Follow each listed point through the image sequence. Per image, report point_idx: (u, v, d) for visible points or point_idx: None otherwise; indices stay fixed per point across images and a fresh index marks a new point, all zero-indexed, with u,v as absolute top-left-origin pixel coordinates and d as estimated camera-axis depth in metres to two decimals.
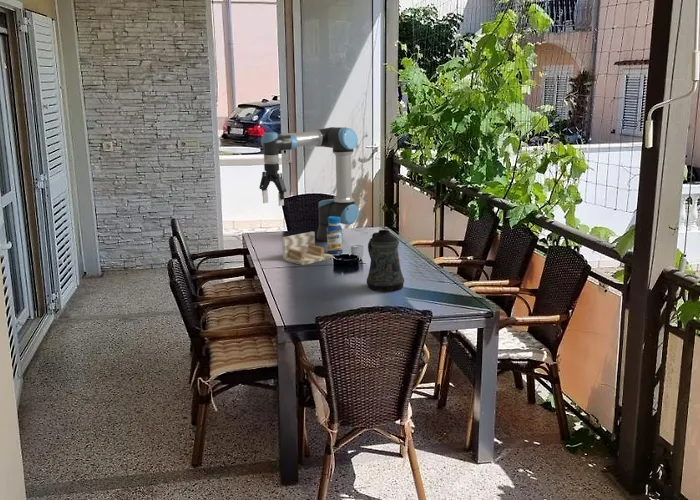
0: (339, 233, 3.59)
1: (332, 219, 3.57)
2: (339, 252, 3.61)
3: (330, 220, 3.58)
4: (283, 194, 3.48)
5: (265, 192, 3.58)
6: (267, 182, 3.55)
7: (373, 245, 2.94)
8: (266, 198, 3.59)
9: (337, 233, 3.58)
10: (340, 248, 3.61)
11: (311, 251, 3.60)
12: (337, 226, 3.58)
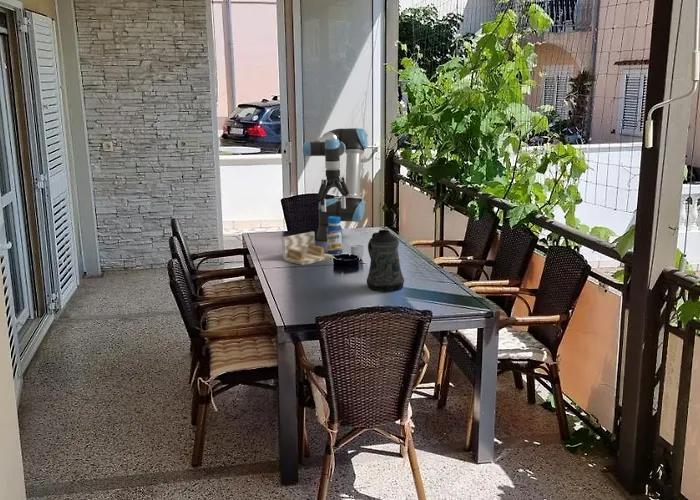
0: (339, 233, 3.59)
1: (332, 219, 3.57)
2: (339, 252, 3.61)
3: (330, 220, 3.58)
4: (321, 200, 3.52)
5: (342, 197, 3.62)
6: (337, 188, 3.59)
7: (373, 245, 2.94)
8: (343, 204, 3.62)
9: (337, 233, 3.58)
10: (340, 248, 3.61)
11: (311, 251, 3.60)
12: (337, 226, 3.58)
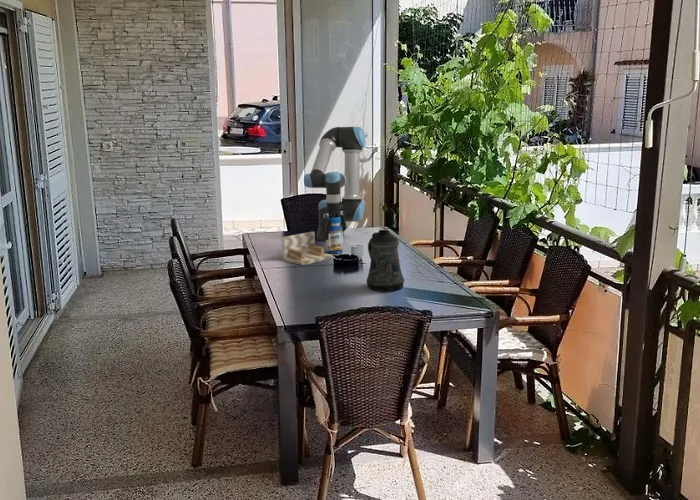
0: (339, 233, 3.59)
1: (332, 219, 3.57)
2: (339, 252, 3.61)
3: None
4: (326, 235, 3.58)
5: None
6: None
7: (373, 245, 2.94)
8: None
9: (337, 233, 3.58)
10: (340, 248, 3.61)
11: (311, 251, 3.60)
12: (337, 226, 3.58)
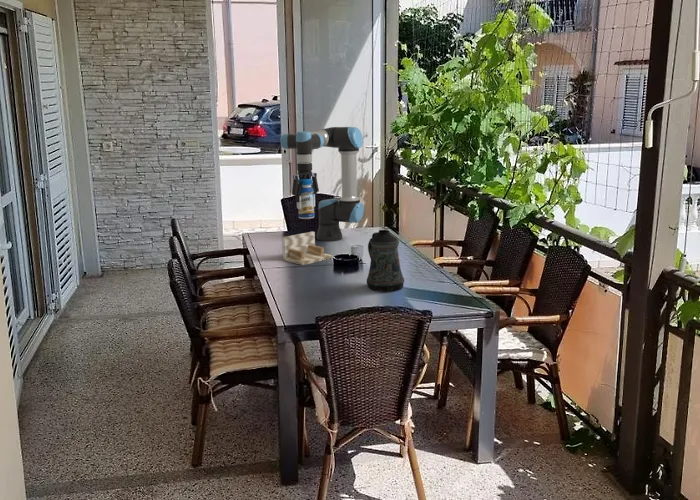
0: (310, 195, 3.44)
1: (303, 180, 3.42)
2: (310, 215, 3.46)
3: (301, 181, 3.43)
4: (297, 197, 3.43)
5: None
6: None
7: (373, 245, 2.94)
8: None
9: (308, 195, 3.44)
10: (311, 211, 3.46)
11: (311, 251, 3.60)
12: (309, 188, 3.44)
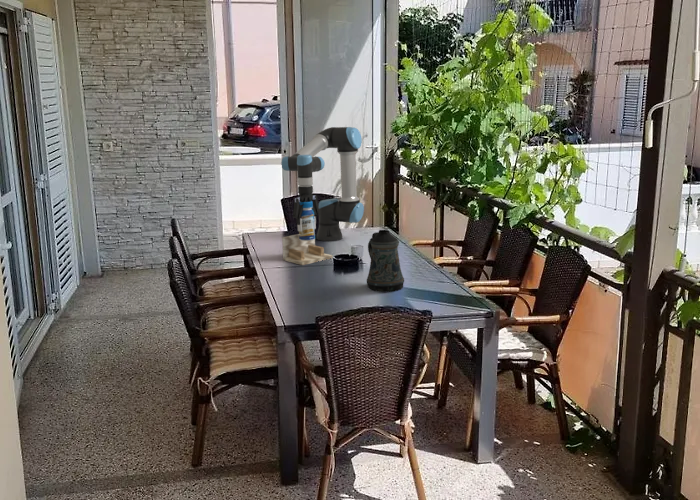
0: (311, 218, 3.47)
1: (304, 203, 3.45)
2: (311, 238, 3.49)
3: (301, 204, 3.45)
4: (297, 220, 3.45)
5: None
6: None
7: (373, 245, 2.94)
8: None
9: (309, 218, 3.46)
10: (312, 233, 3.49)
11: (311, 251, 3.60)
12: (309, 211, 3.46)
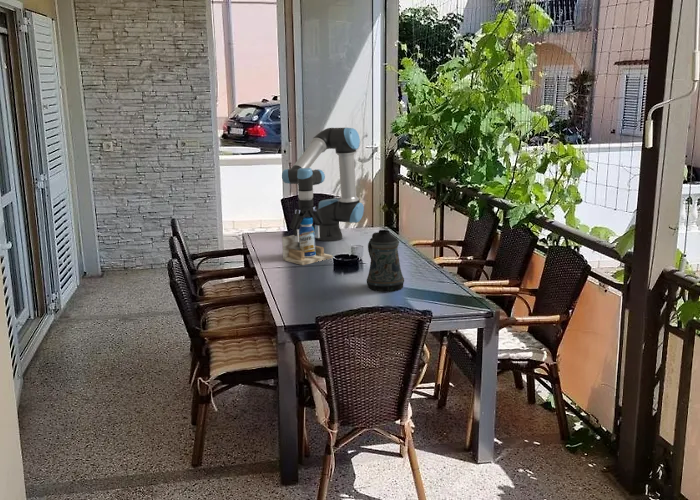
0: (311, 234, 3.49)
1: (304, 220, 3.47)
2: (312, 254, 3.51)
3: (302, 221, 3.48)
4: (294, 231, 3.45)
5: (316, 227, 3.55)
6: None
7: (373, 245, 2.94)
8: (317, 233, 3.56)
9: (309, 234, 3.48)
10: (313, 250, 3.51)
11: None
12: (309, 227, 3.48)
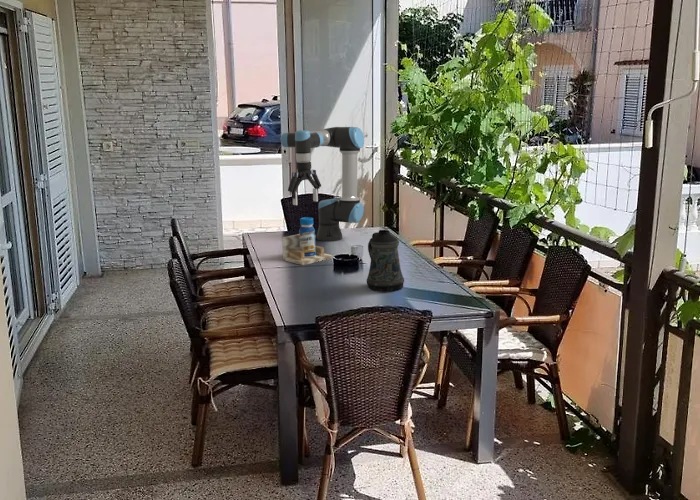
0: (312, 235, 3.49)
1: (304, 220, 3.47)
2: (312, 254, 3.51)
3: (302, 221, 3.48)
4: (292, 194, 3.43)
5: (314, 190, 3.54)
6: (309, 180, 3.51)
7: (373, 245, 2.94)
8: (315, 196, 3.54)
9: (309, 235, 3.48)
10: (313, 250, 3.51)
11: None
12: (310, 228, 3.48)
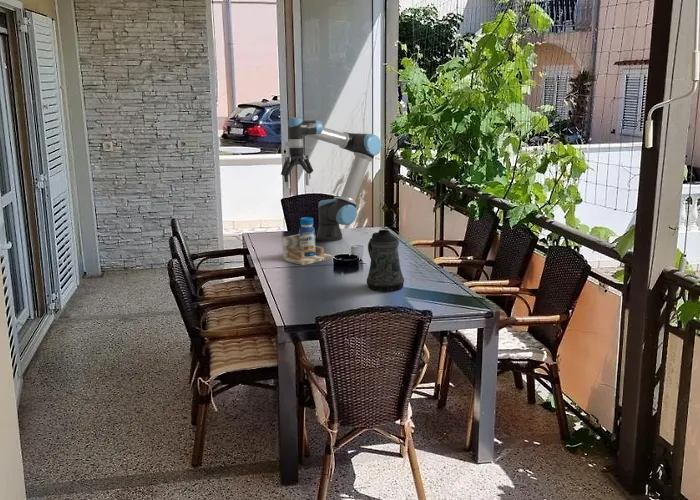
0: (312, 235, 3.49)
1: (304, 220, 3.47)
2: (312, 254, 3.51)
3: (302, 221, 3.48)
4: (285, 177, 3.61)
5: (306, 175, 3.71)
6: (301, 165, 3.69)
7: (373, 245, 2.94)
8: (307, 181, 3.72)
9: (310, 235, 3.48)
10: (313, 250, 3.51)
11: None
12: (310, 228, 3.48)
